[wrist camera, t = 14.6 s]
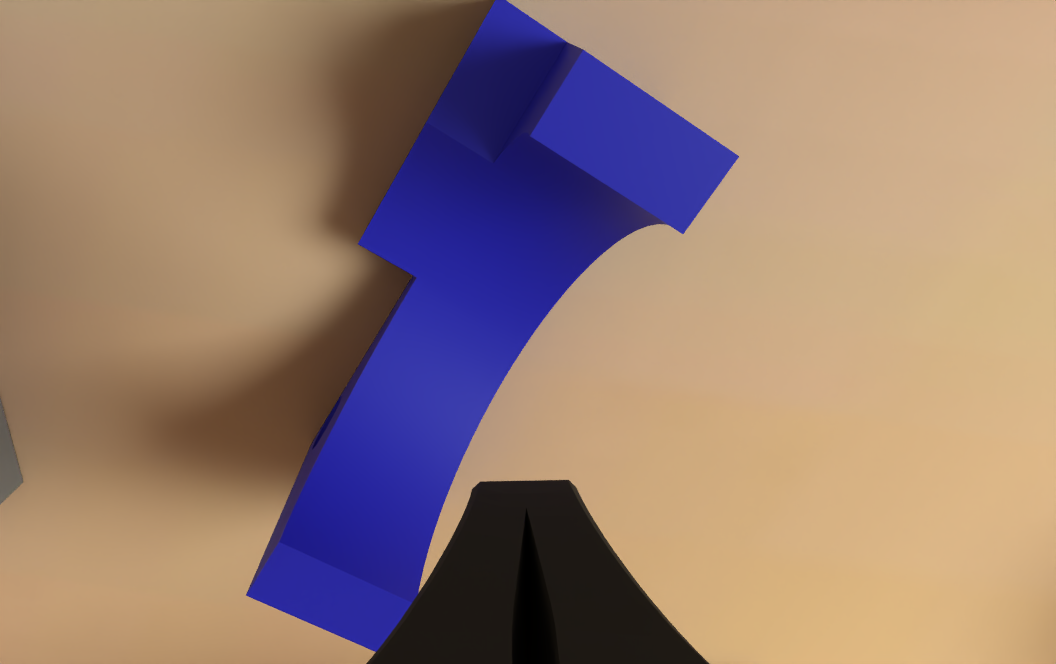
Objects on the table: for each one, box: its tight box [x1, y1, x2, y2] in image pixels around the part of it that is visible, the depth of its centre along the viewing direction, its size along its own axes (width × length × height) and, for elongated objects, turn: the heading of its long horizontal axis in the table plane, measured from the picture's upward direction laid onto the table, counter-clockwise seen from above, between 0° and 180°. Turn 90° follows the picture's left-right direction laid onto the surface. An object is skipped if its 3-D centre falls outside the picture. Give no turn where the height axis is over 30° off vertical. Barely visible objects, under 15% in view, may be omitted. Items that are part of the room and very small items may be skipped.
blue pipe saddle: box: [246, 0, 739, 652], centre depth 16 cm, size 12×4×6 cm, turn 148°
